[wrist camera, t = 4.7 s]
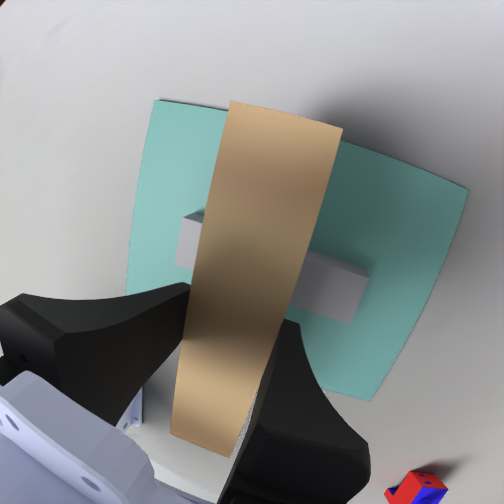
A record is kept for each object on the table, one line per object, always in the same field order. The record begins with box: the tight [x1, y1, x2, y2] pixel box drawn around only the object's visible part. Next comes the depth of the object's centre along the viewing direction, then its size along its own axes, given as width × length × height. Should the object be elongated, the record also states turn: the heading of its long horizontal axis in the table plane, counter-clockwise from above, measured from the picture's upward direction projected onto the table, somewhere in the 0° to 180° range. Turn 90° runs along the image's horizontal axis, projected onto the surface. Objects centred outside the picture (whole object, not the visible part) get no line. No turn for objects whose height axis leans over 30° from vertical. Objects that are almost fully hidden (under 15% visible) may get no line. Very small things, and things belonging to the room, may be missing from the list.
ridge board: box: [126, 100, 469, 401], centre depth 18 cm, size 16×20×2 cm
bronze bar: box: [170, 101, 343, 458], centre depth 14 cm, size 16×4×5 cm, turn 166°
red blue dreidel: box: [384, 471, 448, 504], centre depth 19 cm, size 4×4×8 cm
